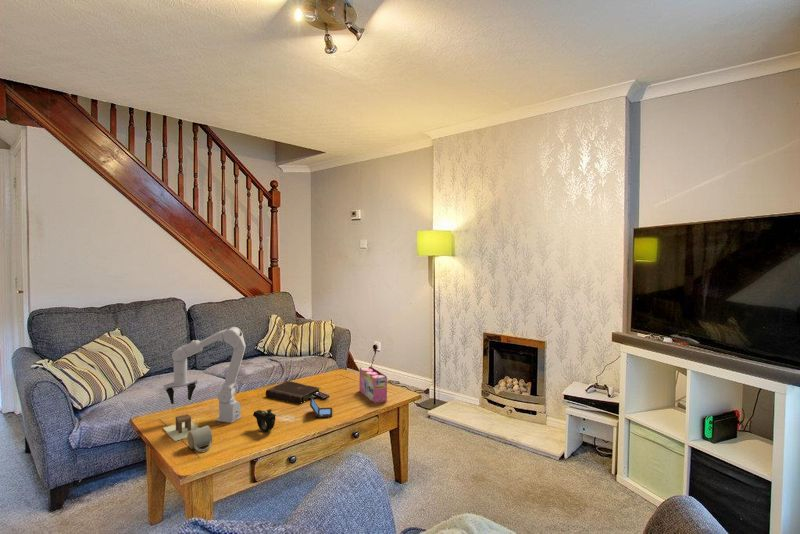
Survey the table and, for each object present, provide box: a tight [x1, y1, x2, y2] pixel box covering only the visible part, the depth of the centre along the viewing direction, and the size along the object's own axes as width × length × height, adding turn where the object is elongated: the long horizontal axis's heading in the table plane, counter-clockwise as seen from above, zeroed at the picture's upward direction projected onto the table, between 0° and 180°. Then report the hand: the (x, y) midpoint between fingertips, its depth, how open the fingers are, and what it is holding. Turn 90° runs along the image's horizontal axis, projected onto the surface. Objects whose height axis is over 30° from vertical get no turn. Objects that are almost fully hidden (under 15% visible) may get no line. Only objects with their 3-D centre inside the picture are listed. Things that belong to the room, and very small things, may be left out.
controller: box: [252, 409, 277, 433], centre depth 196 cm, size 4×12×10 cm, turn 56°
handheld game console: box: [309, 397, 333, 419], centre depth 216 cm, size 12×11×7 cm
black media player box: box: [265, 380, 322, 405], centre depth 243 cm, size 19×25×5 cm
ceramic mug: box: [186, 425, 213, 453], centre depth 179 cm, size 11×8×8 cm
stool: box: [175, 413, 192, 433], centre depth 195 cm, size 5×5×6 cm
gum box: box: [358, 366, 388, 404], centre depth 244 cm, size 24×8×14 cm, turn 26°
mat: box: [162, 420, 200, 442], centre depth 195 cm, size 18×12×1 cm, turn 43°
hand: (180, 401), depth 206 cm, fingers open, 7 cm apart
